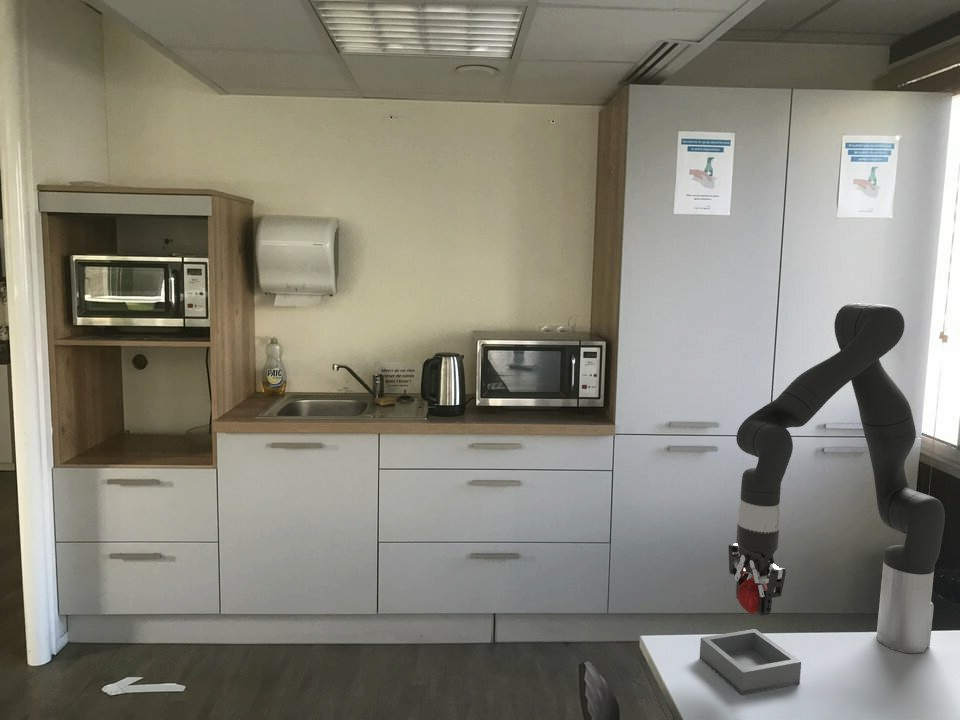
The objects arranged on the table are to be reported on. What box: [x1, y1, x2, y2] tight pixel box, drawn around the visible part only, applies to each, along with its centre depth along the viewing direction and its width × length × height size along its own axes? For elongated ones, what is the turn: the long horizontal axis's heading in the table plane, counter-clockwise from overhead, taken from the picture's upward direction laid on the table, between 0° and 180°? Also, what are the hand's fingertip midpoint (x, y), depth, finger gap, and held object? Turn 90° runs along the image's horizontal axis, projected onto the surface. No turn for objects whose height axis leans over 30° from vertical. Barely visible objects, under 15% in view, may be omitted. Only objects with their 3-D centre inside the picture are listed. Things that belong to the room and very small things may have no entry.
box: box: [699, 628, 802, 696], centre depth 141 cm, size 13×13×4 cm
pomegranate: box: [736, 574, 767, 615], centre depth 139 cm, size 6×6×8 cm
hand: (752, 606), depth 140 cm, fingers closed on pomegranate, 6 cm apart
